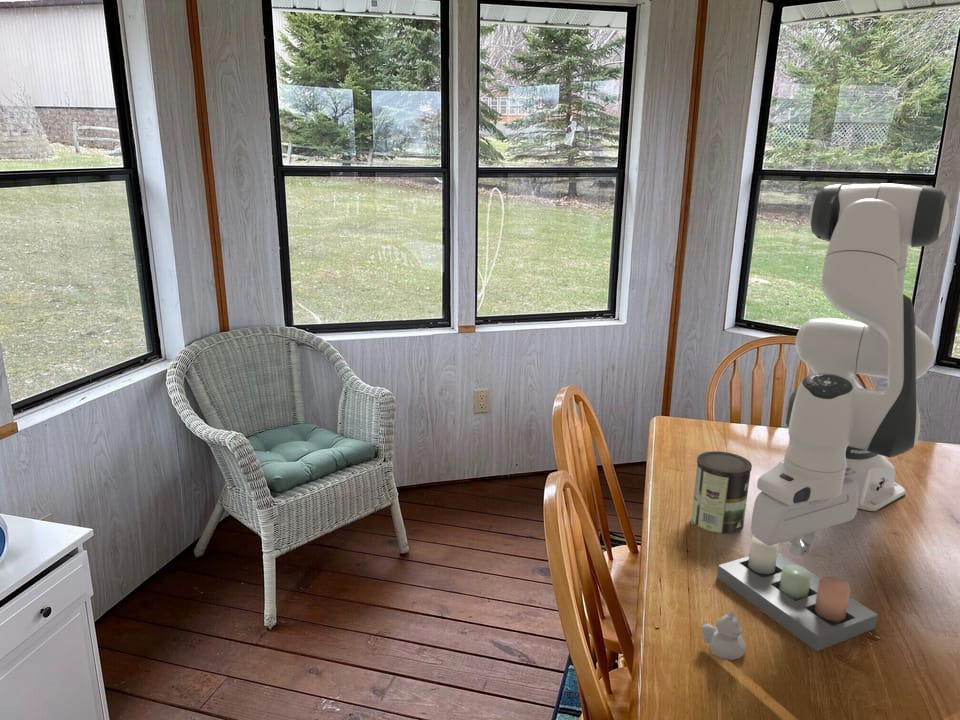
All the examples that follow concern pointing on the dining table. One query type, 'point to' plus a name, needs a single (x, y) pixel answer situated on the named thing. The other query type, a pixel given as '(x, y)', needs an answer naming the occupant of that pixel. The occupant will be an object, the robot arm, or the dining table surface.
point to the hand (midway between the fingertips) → (800, 553)
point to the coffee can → (721, 492)
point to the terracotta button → (832, 598)
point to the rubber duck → (725, 637)
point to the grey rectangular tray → (795, 604)
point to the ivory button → (762, 557)
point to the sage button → (795, 581)
